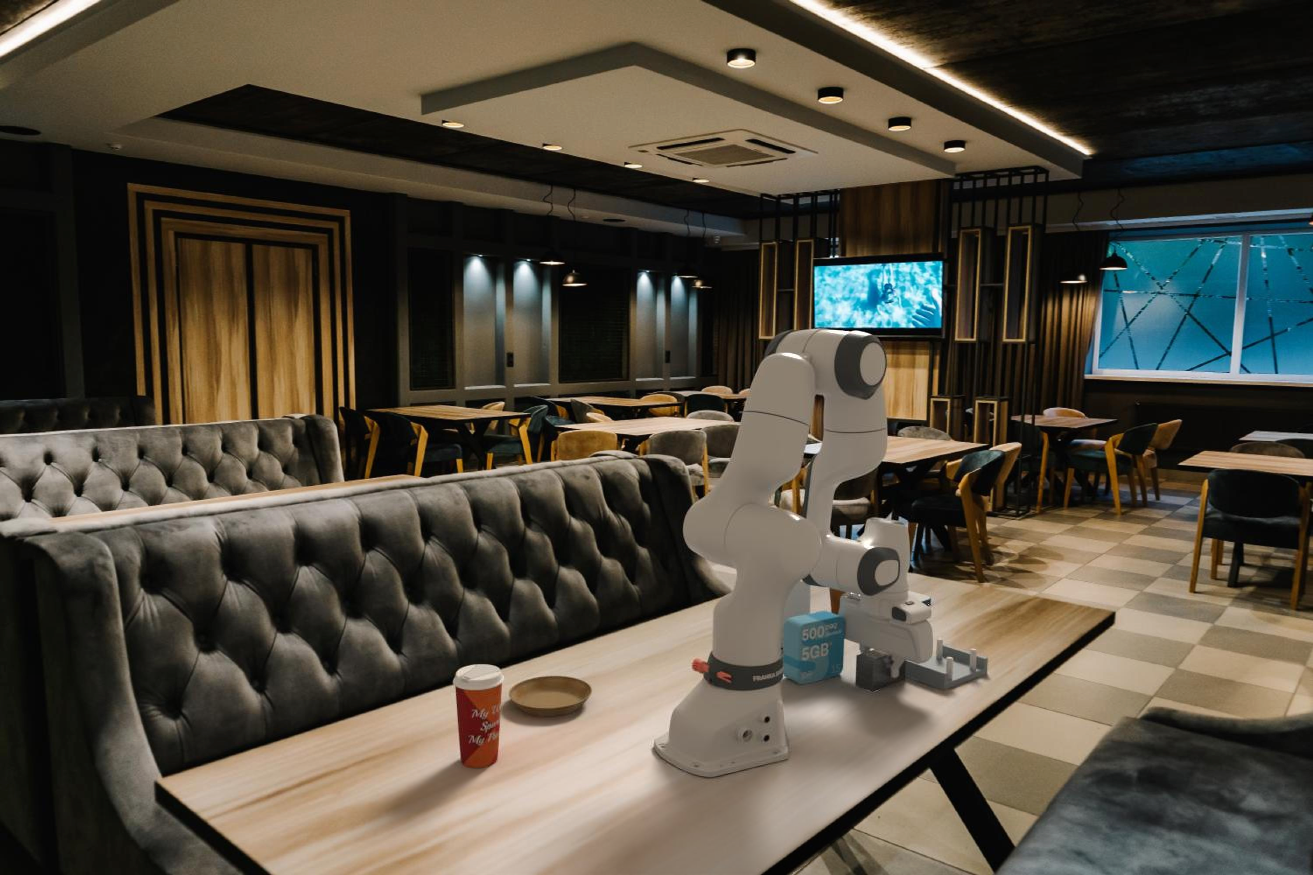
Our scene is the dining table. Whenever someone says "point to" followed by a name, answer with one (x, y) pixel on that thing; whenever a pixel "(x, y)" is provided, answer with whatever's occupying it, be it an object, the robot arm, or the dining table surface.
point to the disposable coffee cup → (835, 600)
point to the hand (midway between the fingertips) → (881, 671)
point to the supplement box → (796, 603)
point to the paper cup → (478, 713)
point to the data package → (813, 647)
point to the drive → (876, 670)
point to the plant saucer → (550, 695)
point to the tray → (948, 667)
